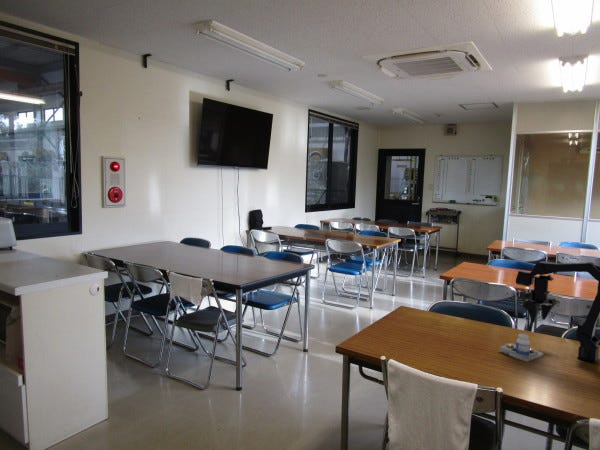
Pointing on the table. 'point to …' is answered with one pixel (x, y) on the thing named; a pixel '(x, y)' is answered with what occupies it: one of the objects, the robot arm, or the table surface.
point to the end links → (511, 350)
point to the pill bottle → (523, 344)
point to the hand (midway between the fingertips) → (538, 320)
